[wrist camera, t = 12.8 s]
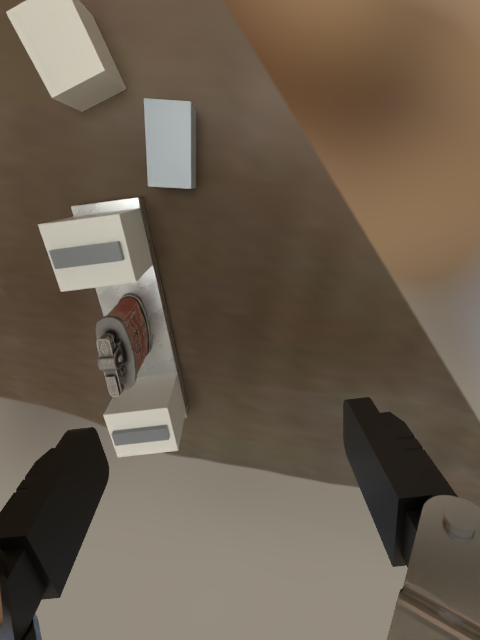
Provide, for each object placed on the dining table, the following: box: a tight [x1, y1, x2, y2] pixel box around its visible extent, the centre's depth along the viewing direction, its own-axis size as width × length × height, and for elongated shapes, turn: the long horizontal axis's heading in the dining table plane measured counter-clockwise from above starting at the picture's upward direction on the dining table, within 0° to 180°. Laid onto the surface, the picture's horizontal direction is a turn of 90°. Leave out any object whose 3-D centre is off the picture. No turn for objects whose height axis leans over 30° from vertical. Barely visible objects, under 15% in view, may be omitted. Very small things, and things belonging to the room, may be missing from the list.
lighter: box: [96, 293, 152, 397], centre depth 35 cm, size 8×3×10 cm, turn 4°
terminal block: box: [144, 98, 196, 189], centre depth 32 cm, size 4×7×5 cm, turn 177°
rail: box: [71, 197, 189, 418], centre depth 41 cm, size 7×28×2 cm, turn 7°
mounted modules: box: [38, 208, 186, 457], centre depth 36 cm, size 7×26×8 cm, turn 7°
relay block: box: [6, 0, 126, 112], centre depth 29 cm, size 5×6×6 cm
